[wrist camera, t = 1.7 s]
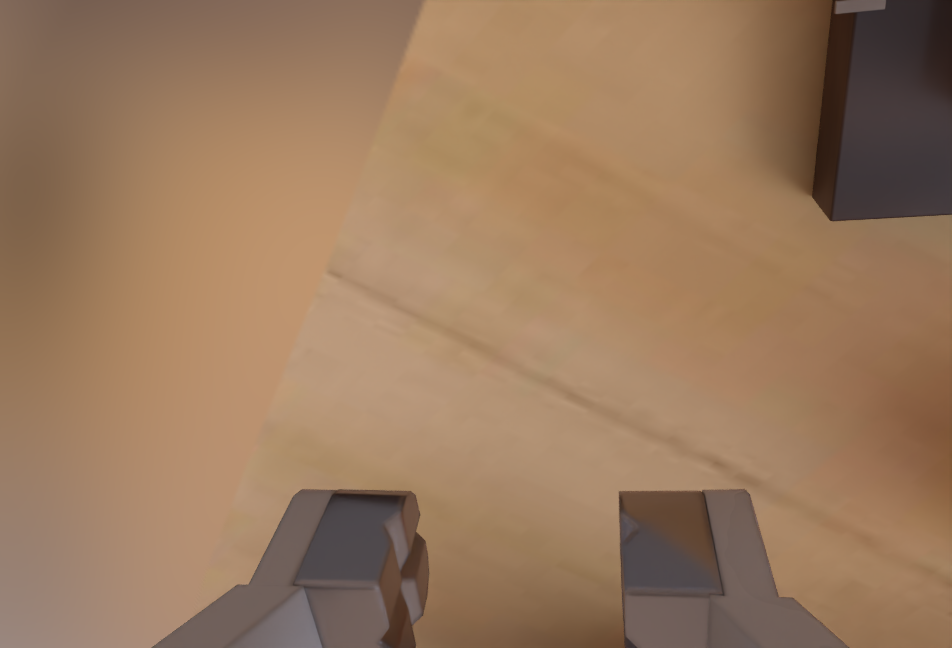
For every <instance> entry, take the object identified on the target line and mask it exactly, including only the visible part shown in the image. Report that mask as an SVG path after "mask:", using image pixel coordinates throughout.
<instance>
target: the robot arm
mask: <svg viewBox="0 0 952 648" xmlns="http://www.w3.org/2000/svg"><path fill="white" fill-rule="evenodd" d="M419 518H420V511H419V507H418V503H417V498H416V495H415V494H414V493H413V492H411V491H385V490H344V489H338V490H314V489H302V490H300V491H299V492H298V493H297V494H295V495H294V496H293V498H292V500H291V502H290V504H289V506H288V508H287V510H286V512H285V514H284V516H283V518H282V519H281V521H280V523H279V525H278V527H277V529H276V531H275V533H274V535H273V537H272V539H271V541H270V543H269V545H268V547H267V549H266V551H265V553H264V555H263V557H262V559H261V561H260V563H259V565H258V567H257V569H256V571H255V573H254V575H253V577H252V579H251V581H250V583H249V585H236V586H235V587H234V588H232V589H231V590H229V591H228V592H227V593H225V594H224V595H223V596H221V597H220V598H219V599H217V600H216V601H214V602H213V603H212V604H210V605H209V606H208V607H206V608H205V609H203V610H202V611H201V612H199V613H198V614H197V615H195V616H194V617H193V618H191V619H190V620H188V621H187V622H186V623H184V624H183V625H182V626H180V627H179V628H178V629H176V630H175V631H173V632H172V633H171V634H170V635H168V636H167V637H165V638H164V639H163V640H161V641H160V642H158V643H157V644H156V645H154V646H153V647H152V648H416V642H415V637H414V633H413V628H412V625H413V624H414V623H415V622H416V621H417V620H418V619H420V618H421V617H422V616H423V614H424V609H425V604H426V600H427V594H428V581H429V562H428V552H427V546H426V541H425V540H424V539H423V538H422V537H421V536H420V535H419V534H418V533H417V532H416V529H417V525H418V522H419ZM619 523H620V555H621V586H622V603H623V621H624V645H625V648H849V647H848V646H847V645H846V644H845V643H844V642H842V641H841V640H840V639H839V638H838V637H837V636H836V635H835V634H833V633H832V632H831V631H830V630H829V629H828V628H827V627H826V626H824V625H823V624H822V623H821V622H820V621H819V620H818V619H816V618H815V617H814V616H813V615H812V614H811V613H810V612H809V611H807V610H806V609H805V608H804V607H803V606H802V605H801V604H800V603H798V602H797V601H796V600H795V599H794V598H787V597H779V596H778V592H777V589H776V585H775V582H774V578H773V574H772V571H771V567H770V564H769V560H768V557H767V553H766V550H765V546H764V543H763V539H762V536H761V532H760V528H759V525H758V521H757V518H756V514H755V511H754V507H753V504H752V500H751V497H750V494H749V493H748V492H747V491H746V490H745V489H729V490H702V492H701V491H619Z"/></svg>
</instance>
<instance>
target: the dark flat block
mask: <svg viewBox="0 0 952 648" xmlns="http://www.w3.org/2000/svg"><path fill="white" fill-rule="evenodd" d="M812 197H813V199H814V200H815V201H816V203H817V204H818V205H819V207H820V208H821V209H822V211H823V212H824V213H825V214H826V216H827V217H828V218H829V220H830V221H845V220H863V219H881V218H899V217H916V216H934V215H952V0H833V2H832V12H831V22H830V31H829V41H828V51H827V60H826V70H825V79H824V89H823V99H822V108H821V118H820V127H819V137H818V147H817V156H816V166H815V175H814V185H813V195H812Z"/></svg>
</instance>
